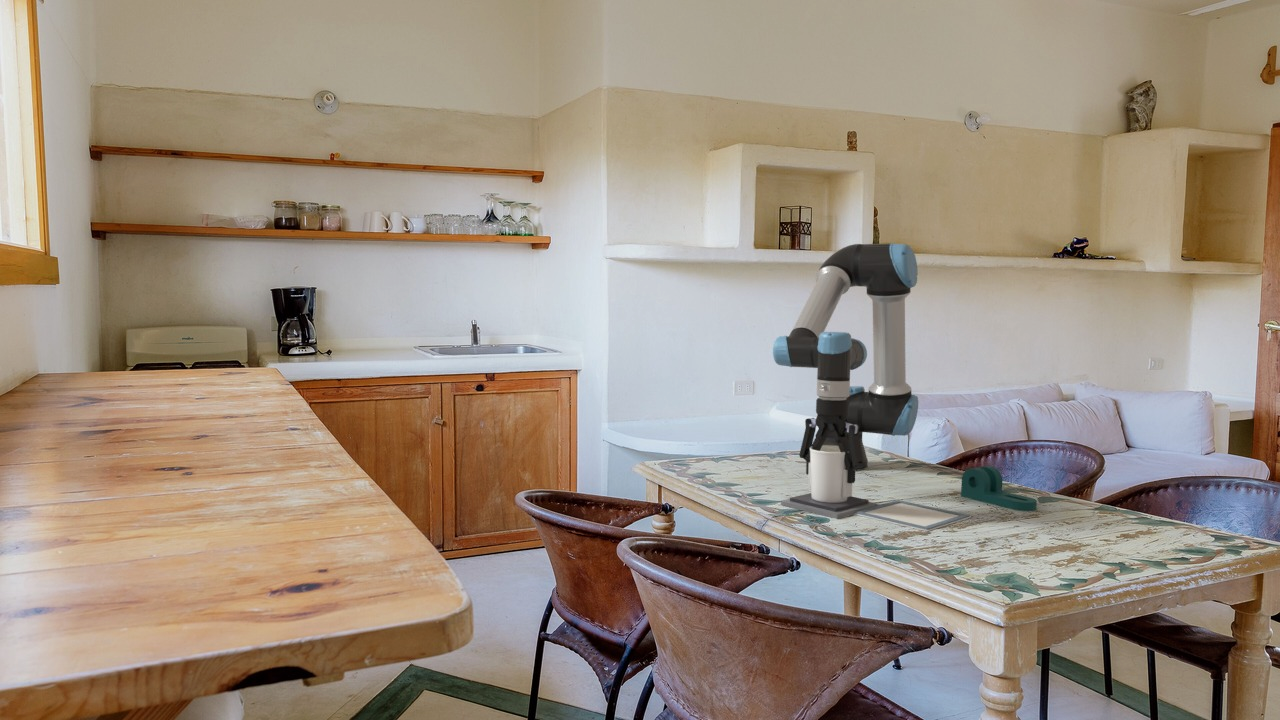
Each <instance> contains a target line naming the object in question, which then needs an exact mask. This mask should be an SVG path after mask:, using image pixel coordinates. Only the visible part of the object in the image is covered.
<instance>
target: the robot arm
mask: <svg viewBox="0 0 1280 720" xmlns="http://www.w3.org/2000/svg"><path fill="white" fill-rule="evenodd" d="M917 263H918V262H917V258H916V254H915V252H914V250H913V248H912V247H911V246H910V245H909V244H905V243H903V244H902V243H894V242H892V243H891V242H890V243H889V242H888V243H864V244H863V243H855V244H854V243H853V244H849V245H847V246H845V247H842V248H841V249H838V250H836V251H835V252H834V253H833V254H831V256H829V257H828V258H827V259H826V260H825V261H824V262H823V263H822V264H821V266H820V268H819V269H818V271H817V273H816V276H815V285H814V287H813V289H812V291H811V293H810V295H809V297H808V299H807V300H806V302H805V305H804V307H803V308H802V310H801V312H800V314H799V316H798V318H797V320H796V322H795V323H794V326H793V327H792V329H791V331H790V333H789V336H787V335H784V336H783V335H782V336H778V337H776V339H775V340H774V341H773V347H772V355H773V356H772V357H773V361H774V362H775V363H776V364H777V365H778V366H782V367H783V366H785V367H790V368H807V369H808V368H809V369H810V368H813V369H817V375H816V379H817V380H816V396H817V397H818V398H817V399H816V402H815V412H816V418H814V417H811V418H806V419H805V421H804V423H805V429H804V433H803V438H802V442H801V446H800V451H799V454H798V455H799V458H800V459H803V460H805V463H806V466H805V473H806V475H807V490H809V491H811V471H810V447H813V448H812V449H813V450H817V451H820V449H821V447H822V445H834V446H839V449H840V452H845V457H844V463H845V465H846V468H845V469H843V491H842V497H844V498H846V497H850V496H852V497H853V484H855V482H856V471H860V470H865V469H867V468H868V464H869V463H868V456H867V453H866V450H865V447H864V443H863V434H864V433H867V434H868V433H869V434H879V435H889V436H892V437H893V436H908V435H909V434H910V433H911V432H912V431H913V429H914V427H915V424H916V420H917V416H918V410H919V397H918V395H915V394H912V387H911V386H910V385H909V384H908V383H907V379H906V374H907V373H906V299H907V297H908V296H909V295H910V294H911V288H914V287H915V286H916V285H917V283H918V275H919V274H918V271H919V270H918V264H917ZM851 287H852V288H853V287H865V289H866V295H867V296H868V297H869V298H870V299H871V300H872V331H873V332H872V337H873V339H872V341H873V342H872V343H873V349H872V350H873V383H872V384H870V386H869V387H868V391H865V387H864V386H862V385H861V386H860V385H852V386H851V380H850V379H851V371H853V370H856V369H858V368H859V367H861V366H863V365H864V364H865V362H866V360H867V356H868V350H867V348H866V345H865V344H864V343H863V342H862V341H860V340H859V339H856V338H853V337H852V335H851V334H850V333H849V332H844V331H826V328H827V326H828V325H829V322H830V321H831V318H832V316H833V314H834V312H835V310H836V308H837V305H838V304H839V302H840V301H841V300H840V299H841V297H842V295H845V294H846V293H847V292H848V291H849V290H850V288H851ZM816 428H818V429H817V432H816Z"/></svg>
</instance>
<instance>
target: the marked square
mask: <svg viewBox="0 0 1280 720" xmlns="http://www.w3.org/2000/svg"><path fill="white" fill-rule="evenodd" d="M853 515H855V516H859V517H860V516H861V517H864V518H868V519H872V520H877V521H881V522H886V523H889V524H895V525H898V526H902V527H906V528H911V529H915V530H919V531H923V532H924V531H925V532H930V531H933V530H937V529H940V528H943V527H946V526H949V525H952V524H956V523H958V522H962V521H965V520H967V519H971V518H973V517H972V516H971V515H970V514H966V513H961V512H957V511H951V510H946V509H942V508H938V507H933V506H929V505H924V504H919V503H914V502H909V501H904V500H900V499H896V500H894V501H890V502H885V503H881V504H879V505H878V506H875V507H871V508H868V509H864V510H860V511H856V512H855V513H854V514H853Z"/></svg>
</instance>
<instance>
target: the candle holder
mask: <svg viewBox="0 0 1280 720" xmlns="http://www.w3.org/2000/svg"><path fill="white" fill-rule="evenodd" d="M812 448H813V447H810V471H811V490H810V493H811V497H812V499H813V500H816V501H819V502H826V503H841V502H845V501H847V497H846V498H844V497H842V491H843V469H845V468H846V465H845V463H844V457H845V452H840V449H839V446H834V445H822V447H821V449H820V451H817V450H813V449H812Z"/></svg>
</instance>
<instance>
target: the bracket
mask: <svg viewBox="0 0 1280 720" xmlns="http://www.w3.org/2000/svg"><path fill="white" fill-rule="evenodd" d="M960 489H961V491H960V497H962V498H966V499H969V500H972V501H977V502H982V503H986V504H990V505H994V506H997V507H1001V508H1006V509H1010V510H1013V511H1020V512H1021V511H1022V512H1033V511H1037V506H1038V505H1037V503H1038V500H1037V499H1036V498H1033V497H1029V496H1024V495H1020V494H1016V493H1012V492H1008V491H1004V490H1003V476H1002V474H1001V472H1000V471H999V469H998V468H996V467H994V466H992V465H987V466H981V467H972V468H969V469H968V468H967V469H966V470H965V471H964V472H963V473H962V476H961V487H960Z"/></svg>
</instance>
